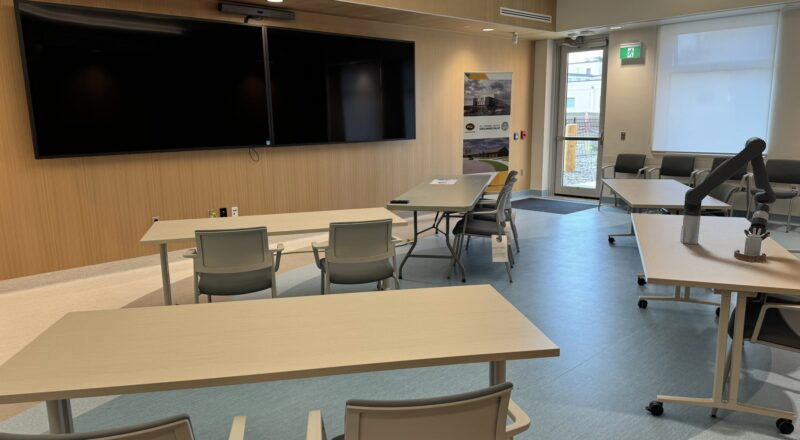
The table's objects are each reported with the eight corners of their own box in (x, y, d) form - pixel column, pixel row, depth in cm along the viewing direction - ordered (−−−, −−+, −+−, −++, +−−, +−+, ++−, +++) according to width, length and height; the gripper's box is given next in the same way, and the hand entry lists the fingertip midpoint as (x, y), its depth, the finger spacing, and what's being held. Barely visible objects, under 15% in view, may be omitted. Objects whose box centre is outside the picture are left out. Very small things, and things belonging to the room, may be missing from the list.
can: (751, 258, 296) (754, 236, 294) (740, 255, 304) (742, 234, 301) (763, 257, 298) (765, 236, 296) (751, 254, 305) (754, 233, 303)
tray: (738, 260, 292) (739, 255, 291) (731, 254, 304) (731, 249, 304) (769, 262, 288) (770, 256, 287) (760, 256, 301) (761, 251, 300)
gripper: (745, 215, 312) (740, 240, 305) (773, 217, 303) (768, 243, 296) (746, 223, 317) (740, 247, 310) (773, 225, 308) (768, 250, 301)
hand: (754, 245), depth 303 cm, fingers closed
